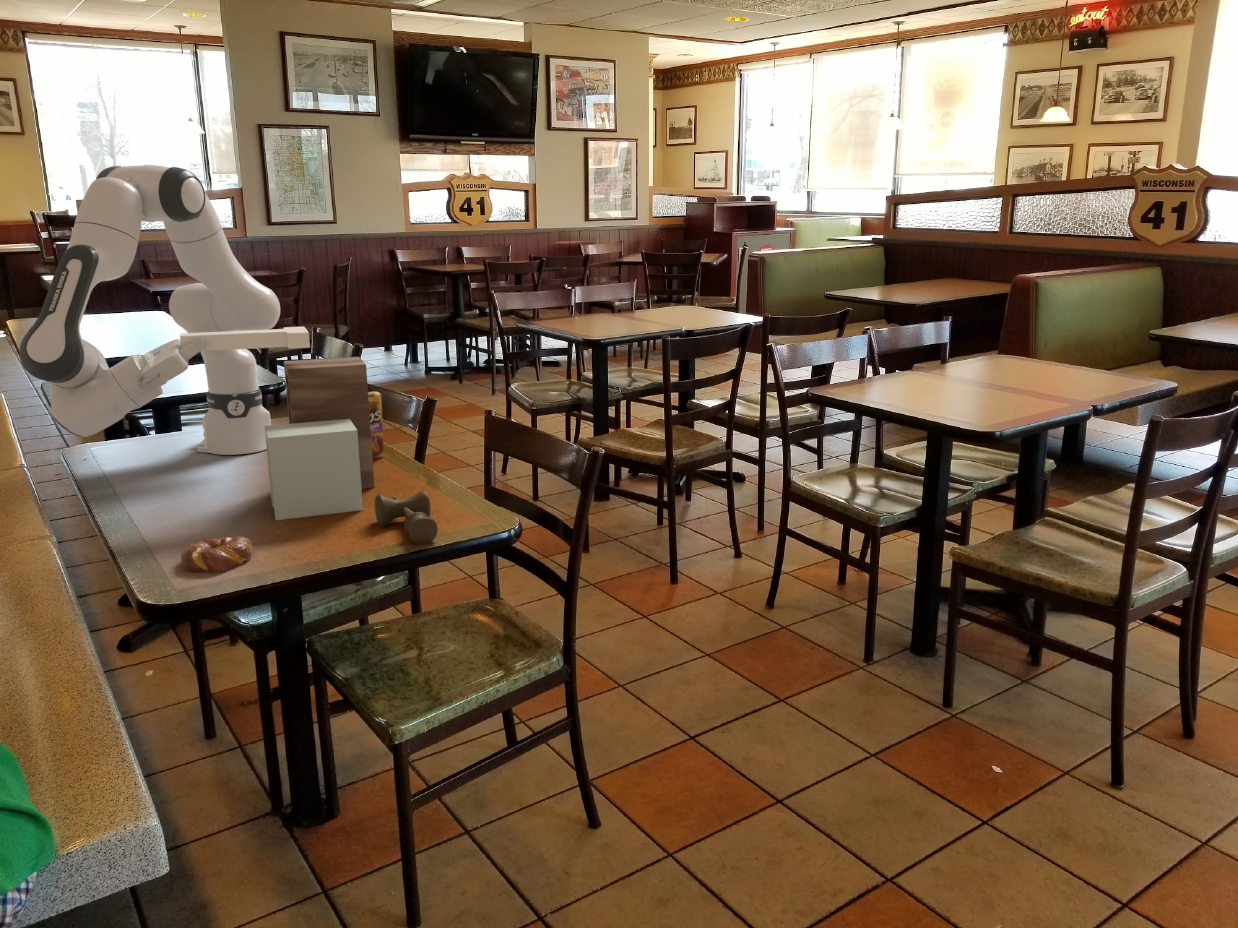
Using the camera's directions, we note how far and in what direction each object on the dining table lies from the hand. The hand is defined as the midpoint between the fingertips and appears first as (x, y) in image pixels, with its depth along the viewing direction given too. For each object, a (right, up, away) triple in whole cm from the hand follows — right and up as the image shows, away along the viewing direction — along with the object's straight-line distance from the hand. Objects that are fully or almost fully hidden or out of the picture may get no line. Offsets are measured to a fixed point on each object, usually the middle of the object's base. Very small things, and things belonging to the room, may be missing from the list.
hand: (204, 339), depth 181 cm
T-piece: (+6, -1, +3) cm, 7 cm away
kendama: (+41, -36, -7) cm, 55 cm away
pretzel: (+13, -41, -23) cm, 48 cm away
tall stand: (+19, -28, +18) cm, 39 cm away
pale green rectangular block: (+20, -33, +3) cm, 39 cm away
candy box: (+20, -23, +38) cm, 49 cm away
